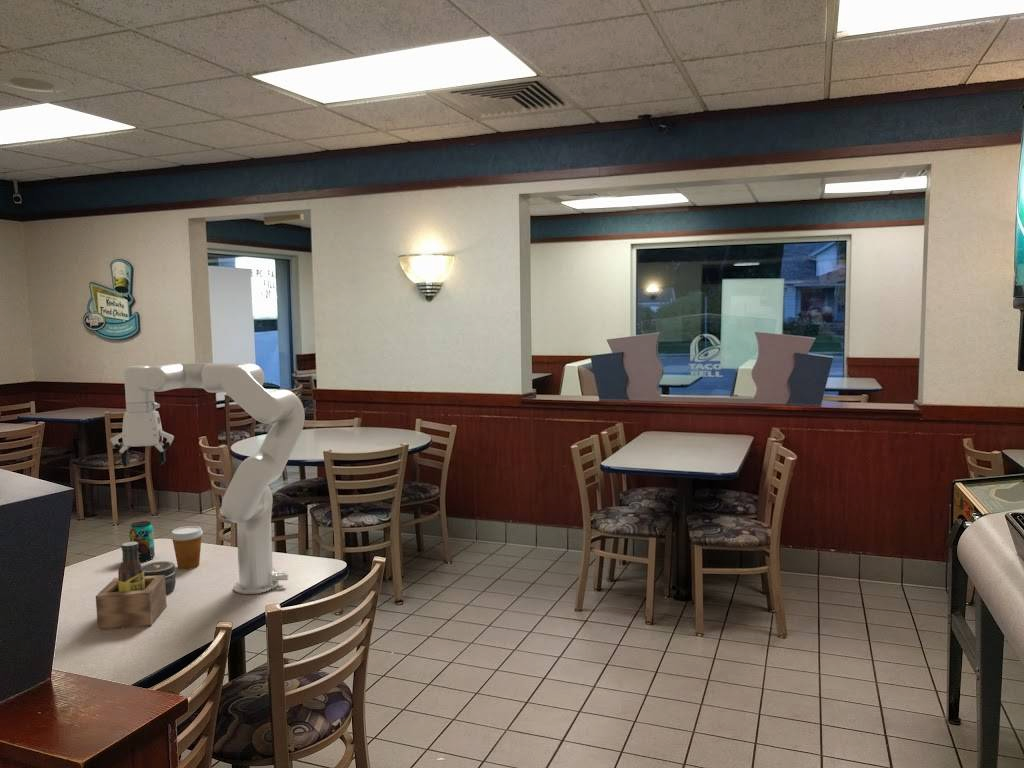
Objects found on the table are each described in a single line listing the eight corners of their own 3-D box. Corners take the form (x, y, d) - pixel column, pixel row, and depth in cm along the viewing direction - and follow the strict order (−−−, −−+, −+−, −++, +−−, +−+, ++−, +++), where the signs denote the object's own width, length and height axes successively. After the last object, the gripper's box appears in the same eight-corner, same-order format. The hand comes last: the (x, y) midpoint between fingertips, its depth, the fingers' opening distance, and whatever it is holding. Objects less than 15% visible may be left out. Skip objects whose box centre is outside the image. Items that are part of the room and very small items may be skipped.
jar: (158, 583, 223) (157, 559, 222) (184, 587, 220) (182, 562, 219) (130, 595, 214) (129, 570, 213) (156, 600, 210) (155, 574, 210)
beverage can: (126, 562, 242) (124, 526, 241) (140, 555, 249) (138, 520, 248) (145, 563, 241) (143, 527, 240) (159, 556, 248) (157, 521, 247)
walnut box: (166, 606, 206) (164, 575, 205) (151, 626, 193) (149, 592, 192) (116, 609, 204) (114, 577, 203) (97, 629, 191) (95, 596, 190)
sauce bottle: (135, 622, 195) (130, 548, 193) (114, 620, 196) (109, 547, 194) (151, 611, 201) (147, 540, 199) (131, 610, 202) (127, 539, 200)
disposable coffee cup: (197, 571, 233) (195, 534, 232) (166, 571, 233) (164, 534, 232) (209, 561, 243) (207, 525, 241) (180, 561, 243) (178, 525, 241)
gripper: (175, 405, 223) (178, 461, 224) (114, 406, 220) (117, 463, 222) (167, 408, 215) (171, 466, 217) (104, 410, 213) (107, 468, 214)
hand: (144, 465), depth 219 cm, fingers open, 9 cm apart
